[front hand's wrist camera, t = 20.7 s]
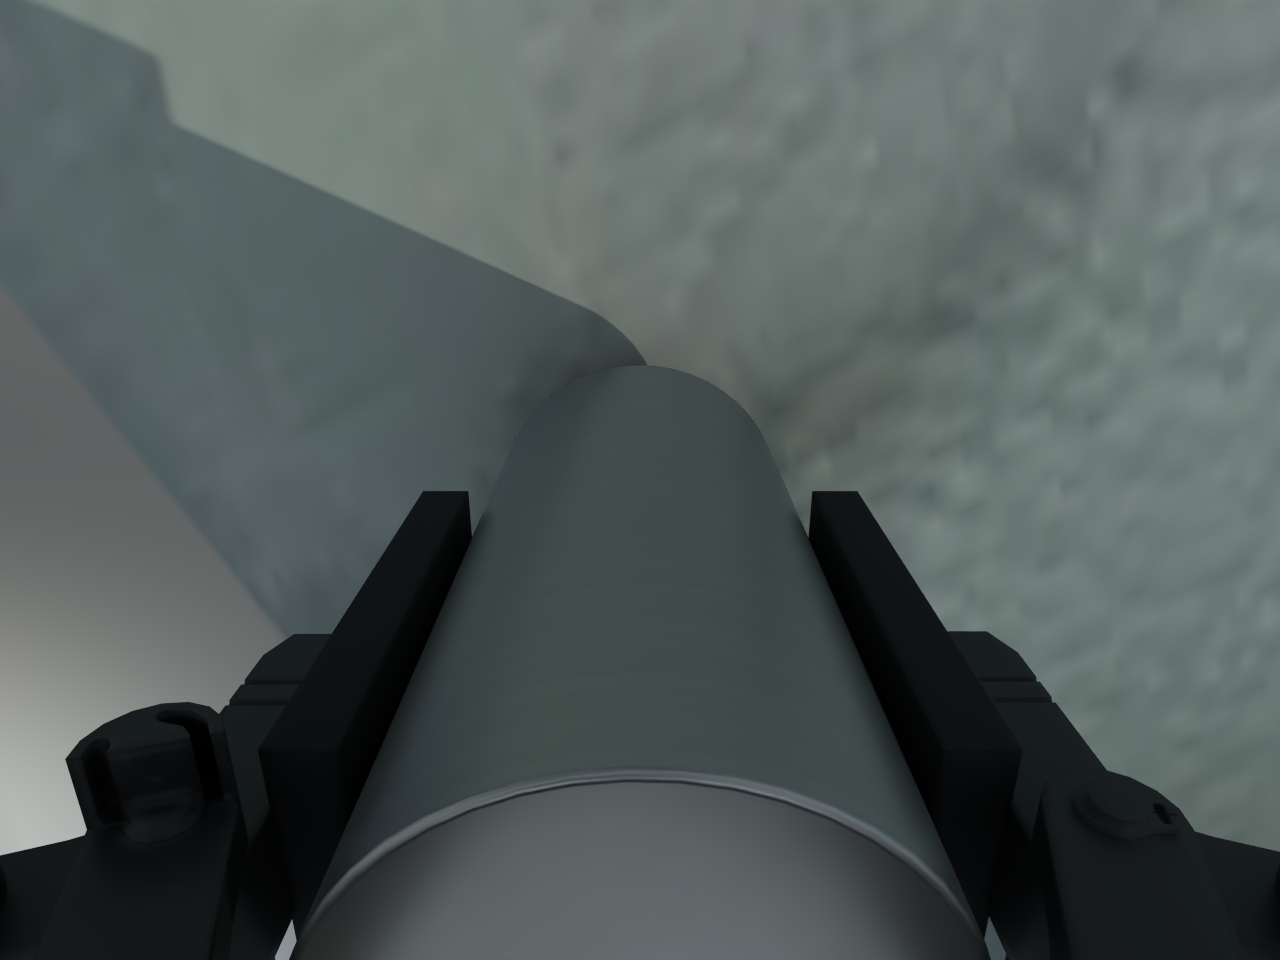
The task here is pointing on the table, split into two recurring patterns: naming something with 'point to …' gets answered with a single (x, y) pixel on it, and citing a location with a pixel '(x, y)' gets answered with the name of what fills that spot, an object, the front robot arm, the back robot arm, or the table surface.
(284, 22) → the table surface
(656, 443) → the tin
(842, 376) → the table surface
